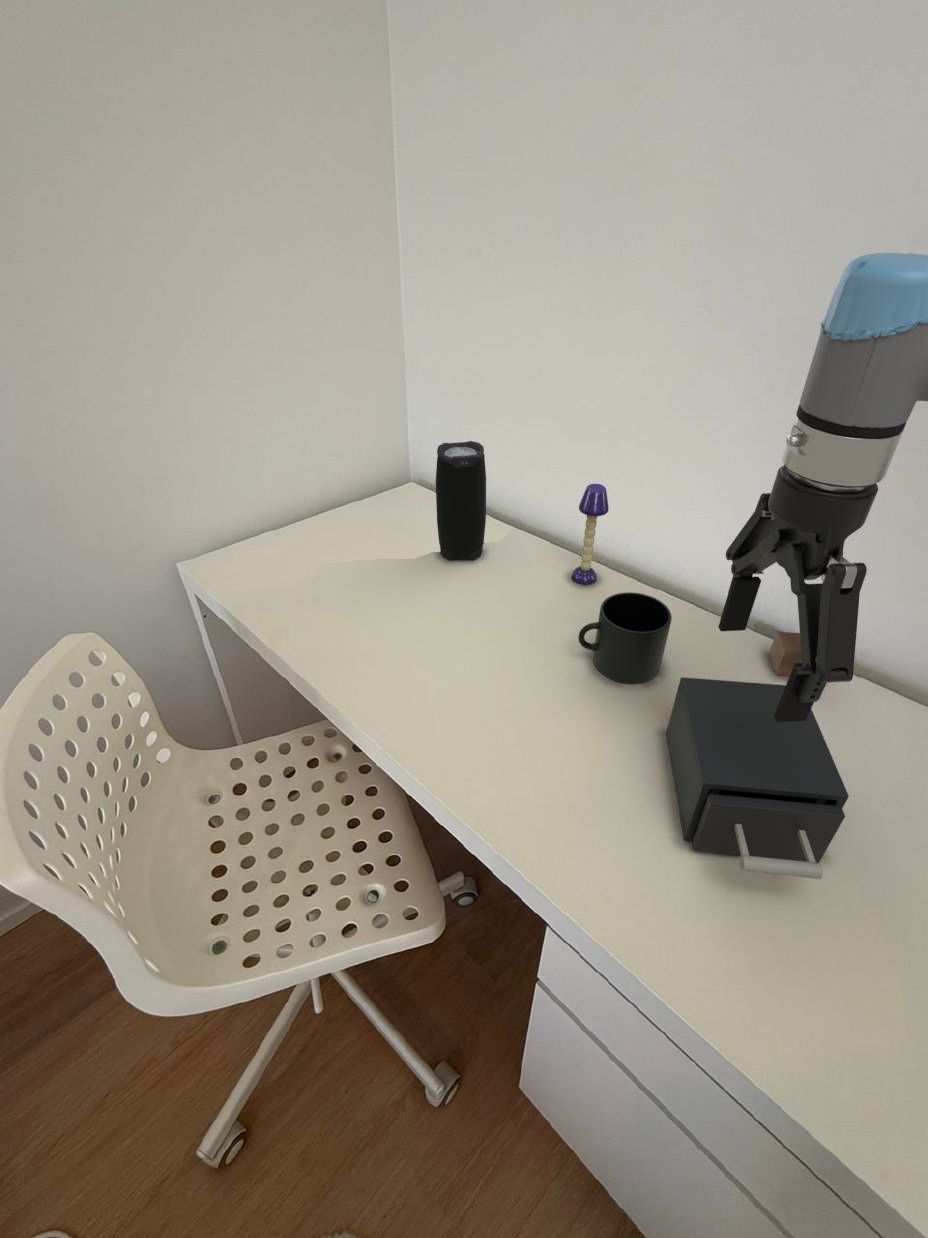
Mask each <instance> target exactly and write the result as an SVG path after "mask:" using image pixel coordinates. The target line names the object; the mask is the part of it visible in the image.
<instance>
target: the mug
mask: <svg viewBox="0 0 928 1238" xmlns="http://www.w3.org/2000/svg"><path fill="white" fill-rule="evenodd" d="M672 619H673V618H672V612H671V611H670V609H669V608H668V606H667V605H666V604H665V603H664V602H662V601H661V600H659V599H657V598H655V597H654V596H651V595H648V594H645V593H641V592H630V591H629V592H628V591H627V592H619V593H615V594H612V595H610V596H608V597H607V598H606V599H604V600H603V601H602V603H601V604H600V607H599V614H598V621H595V622H590V623H588V624H586V625H584V626H583V627H582V628H581V629H580V630H579V633H578V636H577V637H578V638H577V639H578V643H579V645H580V646H581V647H582V648H584V649H585V650H590V651H592V652H593V654H592V659H593V663H594V666H595V667H596V669H597V670H598V671H599V672H600V673H601V674H602V675H603V676H605V677H606V678H609V679H610V680H612V681H615V682H619V683H622V684H633V685H634V684H636V685H637V684H642V683H643V684H644V683H646V682H649V681H651V680H652V679H654V678H655V677H656V676H657V675H658V674H659V672H660V671H661V667H662V663H663V658H664V653H665V650H666V646H667V642H668V641H667V640H668V637H669V633H670V628H671V623H672ZM591 630H596V634H595V641H594V642H592V643H590V642H588V641H587V640H586V639H585V635H586V634H587V632H589V631H591Z"/></svg>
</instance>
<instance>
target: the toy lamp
mask: <svg viewBox="0 0 928 1238" xmlns="http://www.w3.org/2000/svg"><path fill="white" fill-rule="evenodd" d="M578 510H579V512H580V513H581V514H582V515H585V516H586V520H585V528H584V532H583V533H584V537H583V540H582V541H583V545H582V550H581V551H582V553H581V563H580V566H577V567H576V568H575V569H573V571H572V574H571V580H572V581H573V582H575V583H577V584H580V585H592V584H594V583H595V582H597V578H598V576H597V573H596V571H595V569H593V568H592V560H593V552H594V543H595V535H596V528H597V525H598V523H597V520H598V517H601V516H605V515H606V514H608V513H609V500H608V491H607V488H606V486H605V485H603V484H600V483H590V484H588V485H587V486H586V488H585V490H584V492H583V495H582V497H581V500H580V502H579V505H578Z"/></svg>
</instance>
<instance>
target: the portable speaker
mask: <svg viewBox="0 0 928 1238" xmlns="http://www.w3.org/2000/svg"><path fill="white" fill-rule="evenodd" d="M436 454H437V458H436V468H435V501H436V502H435V505H436V524H437V525H436V526H437V535H438V545H439V552H440V555H441V556H442V557H443V558H444V559H446V560H448V561H451V560H452V559H454V558H455V559H456V558H457V559H468V560H469V561H475V560H477V559H479V558H480V557H481V556H482V554H483V549H484V547H483V546H484V544H485V532H486V523H487V470H486V457H485V448H484V445H482V443H480V442H478V441H473V440H468V441H462V442H460V441H459V442H443V443H441V444H439V445H438V446H437V449H436Z"/></svg>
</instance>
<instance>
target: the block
mask: <svg viewBox="0 0 928 1238" xmlns="http://www.w3.org/2000/svg"><path fill="white" fill-rule="evenodd" d="M767 656H768V659H769V661H770V664H771V667H772V668H773V671H774V674H775V676H779V677H780V676H781V677H790V674H791V672H792V669H793V667H794V664H795V663H802V654H801V641H800V632H789V631H776V633H775V635H774V638H773V640H772V644H771V647H770V649H769V652H768V655H767ZM816 659H817V657H816V658H815V660H816Z"/></svg>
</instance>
